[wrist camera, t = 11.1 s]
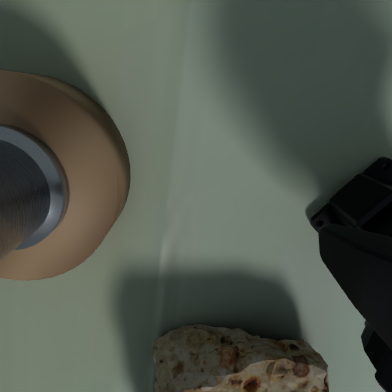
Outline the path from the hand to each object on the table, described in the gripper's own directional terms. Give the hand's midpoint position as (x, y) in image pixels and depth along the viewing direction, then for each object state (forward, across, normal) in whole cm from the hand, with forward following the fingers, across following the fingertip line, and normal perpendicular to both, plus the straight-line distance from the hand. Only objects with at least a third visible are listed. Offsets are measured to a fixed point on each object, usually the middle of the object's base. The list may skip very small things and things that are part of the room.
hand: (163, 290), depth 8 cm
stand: (+15, +7, -1) cm, 16 cm away
